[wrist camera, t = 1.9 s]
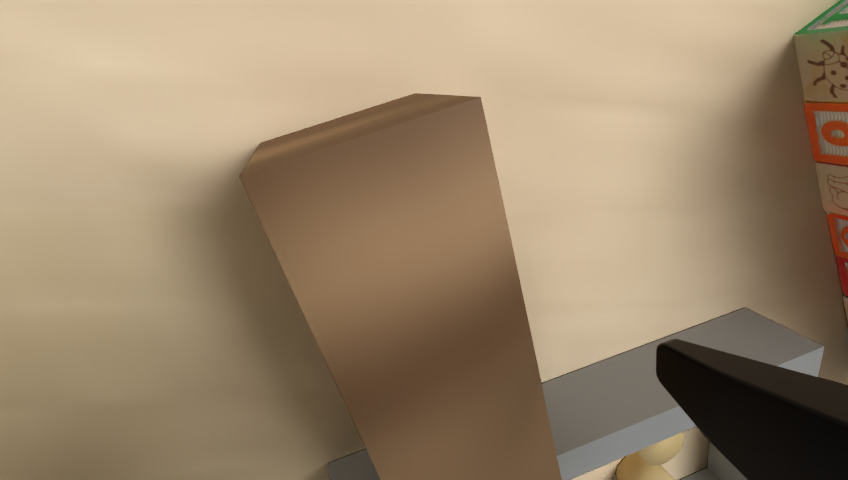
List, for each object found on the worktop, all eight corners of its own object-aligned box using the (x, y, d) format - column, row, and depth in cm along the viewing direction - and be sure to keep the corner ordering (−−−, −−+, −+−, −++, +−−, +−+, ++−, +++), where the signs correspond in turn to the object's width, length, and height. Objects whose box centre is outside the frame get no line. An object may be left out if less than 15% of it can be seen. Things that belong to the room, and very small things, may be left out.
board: (490, 375, 18) (562, 481, 14) (382, 422, 18) (415, 554, 13) (414, 93, 14) (480, 97, 9) (261, 141, 13) (239, 176, 8)
